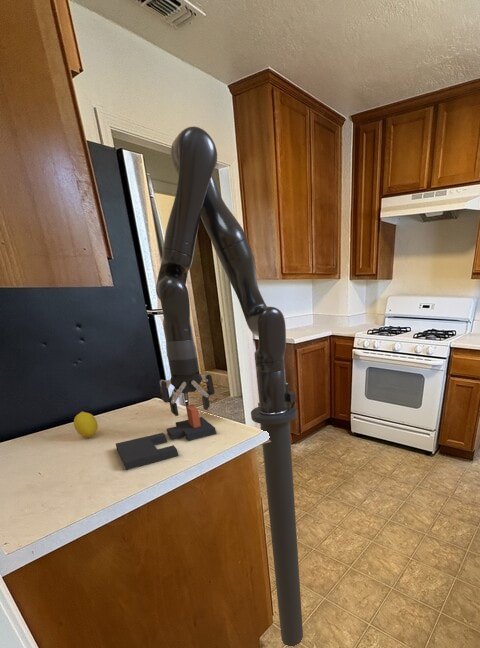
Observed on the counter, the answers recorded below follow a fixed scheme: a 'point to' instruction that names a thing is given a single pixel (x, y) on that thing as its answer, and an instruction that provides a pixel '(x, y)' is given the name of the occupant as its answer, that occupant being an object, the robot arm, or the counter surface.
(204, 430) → the pad
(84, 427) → the lemon
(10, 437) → the counter surface
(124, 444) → the base pad
